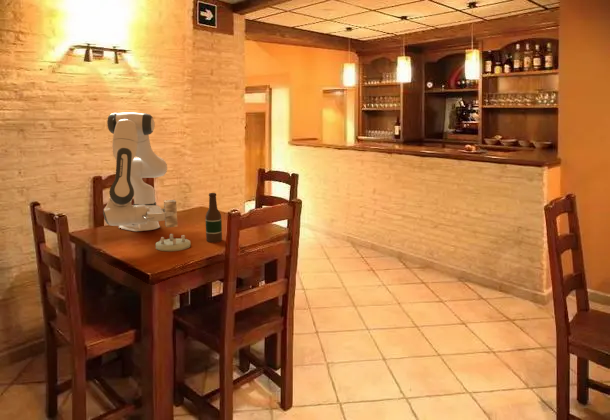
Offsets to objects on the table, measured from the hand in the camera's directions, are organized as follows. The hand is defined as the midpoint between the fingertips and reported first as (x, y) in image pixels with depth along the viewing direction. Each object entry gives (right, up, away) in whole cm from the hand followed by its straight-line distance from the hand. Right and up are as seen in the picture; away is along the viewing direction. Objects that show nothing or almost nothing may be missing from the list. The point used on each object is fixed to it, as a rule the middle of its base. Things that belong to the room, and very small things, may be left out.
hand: (172, 212), depth 231 cm
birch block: (-1, -7, +1) cm, 7 cm away
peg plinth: (0, -17, +3) cm, 17 cm away
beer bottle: (+17, -15, +14) cm, 27 cm away
